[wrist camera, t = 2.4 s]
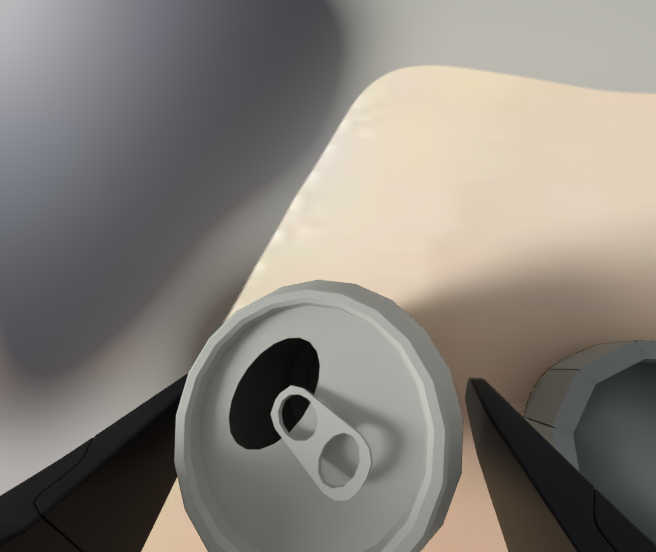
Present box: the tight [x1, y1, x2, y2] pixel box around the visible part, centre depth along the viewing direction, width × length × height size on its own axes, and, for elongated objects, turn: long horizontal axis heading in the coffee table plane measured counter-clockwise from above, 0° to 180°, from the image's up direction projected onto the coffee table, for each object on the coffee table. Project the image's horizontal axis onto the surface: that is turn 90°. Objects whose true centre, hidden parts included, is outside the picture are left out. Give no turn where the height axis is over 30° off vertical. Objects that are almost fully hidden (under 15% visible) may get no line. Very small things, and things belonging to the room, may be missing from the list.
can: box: [174, 280, 463, 552], centre depth 12 cm, size 8×8×12 cm
